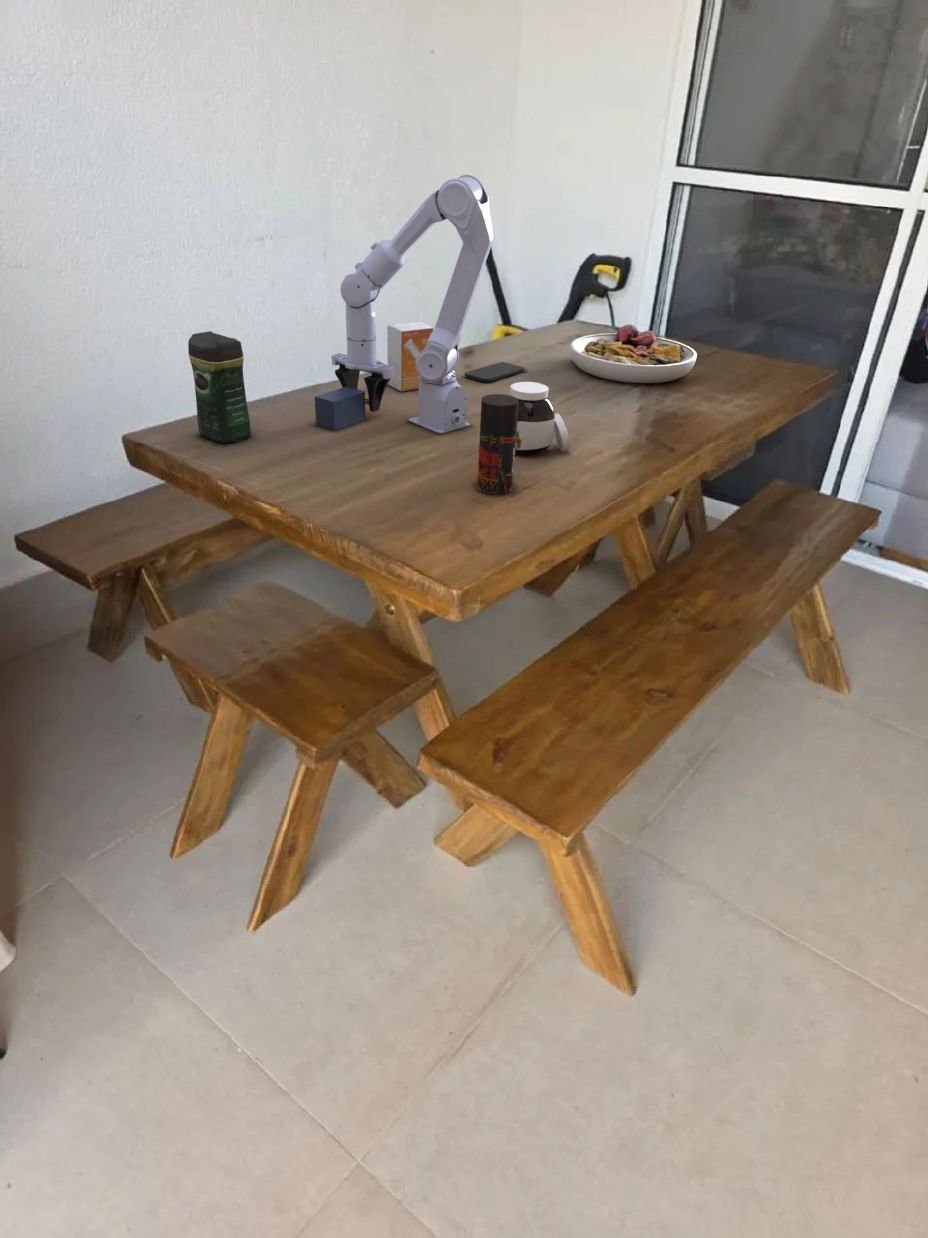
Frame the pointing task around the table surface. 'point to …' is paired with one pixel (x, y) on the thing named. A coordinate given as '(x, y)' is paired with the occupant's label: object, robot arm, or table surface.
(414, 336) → the small box
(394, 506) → the table surface
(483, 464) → the deodorant
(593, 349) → the bowl
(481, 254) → the robot arm
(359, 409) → the box
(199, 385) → the coffee jar
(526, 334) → the table surface
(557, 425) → the spread jar
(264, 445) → the table surface
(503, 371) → the phone
